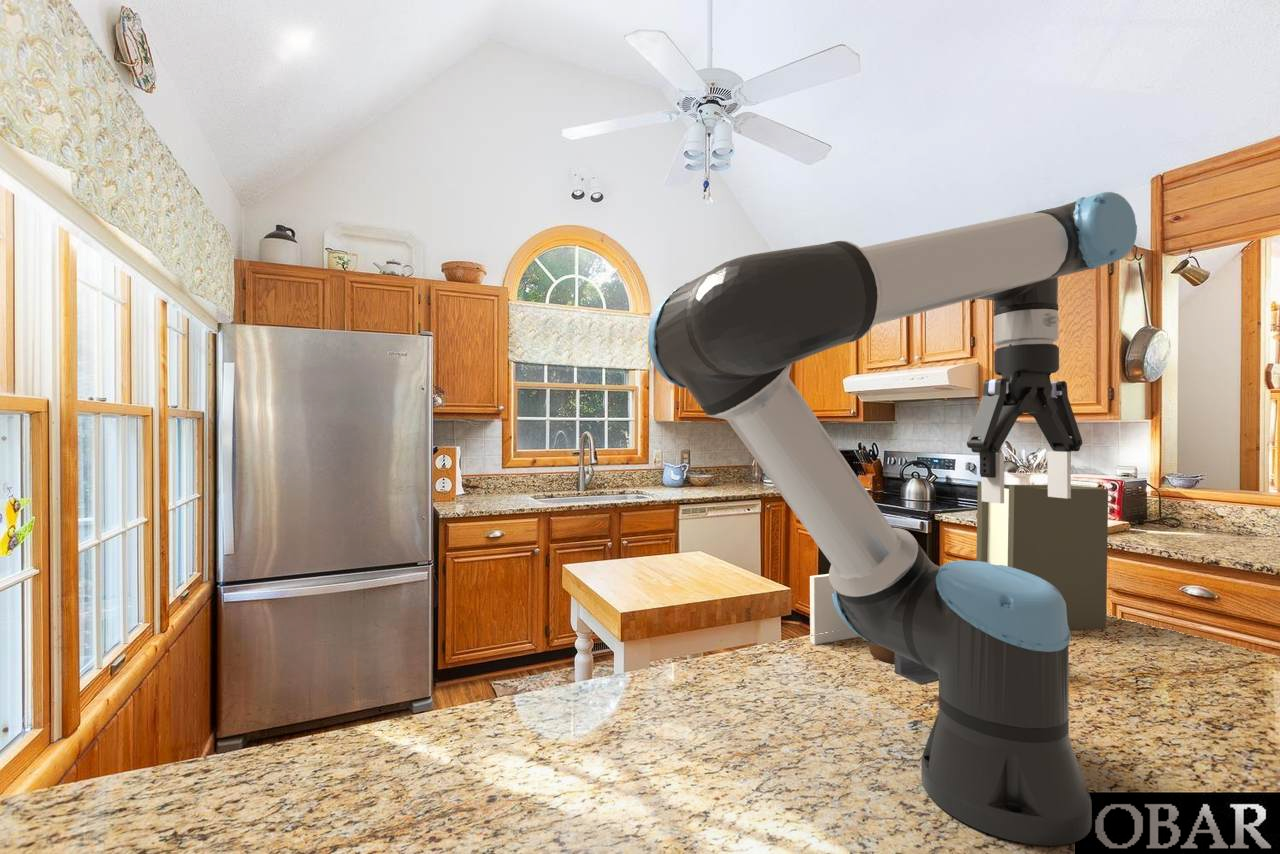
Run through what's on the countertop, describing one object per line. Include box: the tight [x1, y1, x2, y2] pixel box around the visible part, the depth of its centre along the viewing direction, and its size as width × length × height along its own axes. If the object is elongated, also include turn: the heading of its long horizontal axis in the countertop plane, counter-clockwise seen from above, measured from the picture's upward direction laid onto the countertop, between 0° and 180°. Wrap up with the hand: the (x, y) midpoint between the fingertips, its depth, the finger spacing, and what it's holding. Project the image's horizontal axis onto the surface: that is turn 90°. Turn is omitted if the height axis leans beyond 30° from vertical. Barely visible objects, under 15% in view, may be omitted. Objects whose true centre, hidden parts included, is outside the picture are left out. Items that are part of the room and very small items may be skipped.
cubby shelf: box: [809, 573, 861, 645], centre depth 101 cm, size 20×24×12 cm
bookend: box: [894, 653, 939, 685], centre depth 95 cm, size 12×5×6 cm, turn 113°
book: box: [975, 480, 1109, 631], centre depth 118 cm, size 22×9×28 cm, turn 100°
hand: (1027, 500), depth 82 cm, fingers open, 13 cm apart
